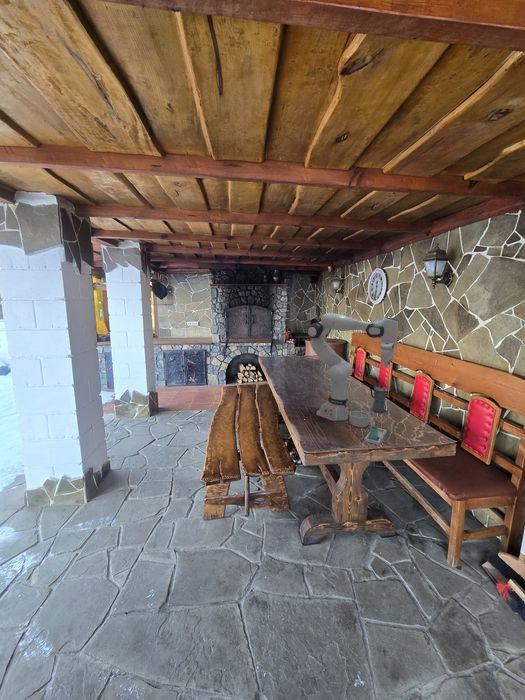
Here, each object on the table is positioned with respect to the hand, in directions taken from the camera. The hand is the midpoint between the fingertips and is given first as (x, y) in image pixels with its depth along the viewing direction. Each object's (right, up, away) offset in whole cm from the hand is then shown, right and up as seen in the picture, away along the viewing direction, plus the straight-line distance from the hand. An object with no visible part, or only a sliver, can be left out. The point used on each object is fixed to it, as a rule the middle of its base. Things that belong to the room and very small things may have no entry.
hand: (387, 366), depth 172 cm
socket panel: (-8, -43, -3) cm, 44 cm away
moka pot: (+11, -36, +41) cm, 55 cm away
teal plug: (-12, -43, -8) cm, 45 cm away
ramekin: (-12, -40, +16) cm, 45 cm away
